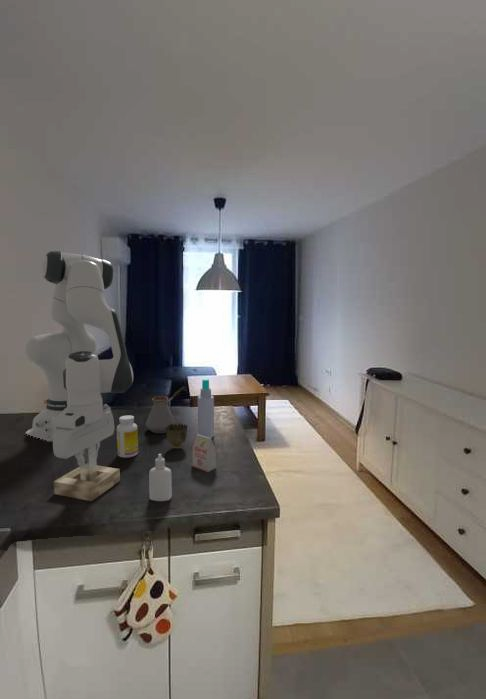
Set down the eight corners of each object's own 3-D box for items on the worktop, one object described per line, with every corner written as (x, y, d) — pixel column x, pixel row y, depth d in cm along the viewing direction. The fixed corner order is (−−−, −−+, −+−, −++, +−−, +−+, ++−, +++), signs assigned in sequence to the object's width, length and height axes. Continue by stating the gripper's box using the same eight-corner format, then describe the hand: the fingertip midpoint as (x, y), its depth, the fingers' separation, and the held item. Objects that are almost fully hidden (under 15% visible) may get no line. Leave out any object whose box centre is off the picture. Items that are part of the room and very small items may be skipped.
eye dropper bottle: (159, 491, 104) (158, 449, 102) (174, 497, 101) (173, 453, 99) (147, 498, 100) (145, 454, 99) (162, 505, 97) (161, 459, 96)
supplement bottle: (142, 452, 131) (141, 415, 129) (130, 459, 125) (129, 421, 123) (125, 449, 133) (124, 413, 132) (113, 456, 127) (111, 419, 125)
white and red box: (200, 462, 123) (199, 432, 122) (215, 468, 119) (215, 437, 118) (191, 466, 120) (191, 435, 119) (207, 472, 116) (207, 440, 115)
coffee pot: (161, 436, 146) (161, 398, 144) (139, 431, 151) (138, 394, 149) (196, 421, 164) (195, 387, 162) (175, 417, 170) (174, 384, 168)
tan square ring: (54, 493, 103) (53, 481, 102) (85, 474, 114) (84, 463, 113) (91, 501, 99) (91, 488, 98) (120, 480, 110) (119, 469, 110)
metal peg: (80, 480, 105) (78, 445, 104) (88, 476, 108) (86, 441, 107) (89, 482, 104) (88, 446, 103) (97, 477, 107) (95, 443, 106)
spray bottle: (206, 440, 142) (206, 382, 139) (194, 437, 146) (194, 380, 143) (217, 436, 147) (217, 379, 144) (205, 432, 150) (205, 377, 148)
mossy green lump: (183, 453, 130) (182, 430, 129) (162, 451, 132) (162, 428, 131) (190, 445, 137) (190, 423, 136) (171, 443, 139) (170, 422, 138)
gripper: (100, 401, 115) (102, 446, 116) (46, 422, 95) (50, 475, 97) (118, 403, 113) (120, 449, 114) (67, 424, 93) (70, 479, 95)
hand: (87, 461), depth 105 cm, fingers closed on metal peg, 3 cm apart
